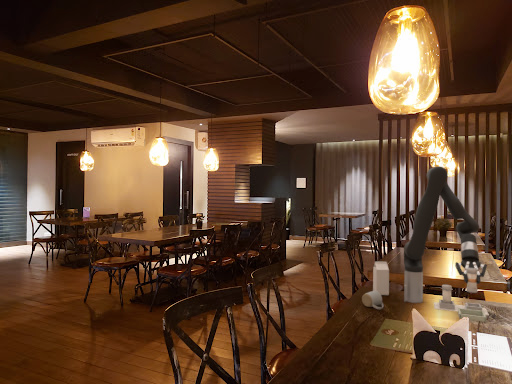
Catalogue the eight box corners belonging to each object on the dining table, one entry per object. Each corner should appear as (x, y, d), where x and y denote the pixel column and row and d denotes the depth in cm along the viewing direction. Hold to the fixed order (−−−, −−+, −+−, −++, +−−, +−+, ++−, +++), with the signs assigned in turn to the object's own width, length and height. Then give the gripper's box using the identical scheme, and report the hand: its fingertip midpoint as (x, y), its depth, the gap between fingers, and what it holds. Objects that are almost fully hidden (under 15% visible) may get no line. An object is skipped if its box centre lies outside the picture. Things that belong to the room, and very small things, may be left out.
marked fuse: (467, 292, 178) (467, 268, 178) (466, 289, 182) (466, 267, 182) (477, 293, 176) (477, 269, 176) (476, 290, 180) (476, 267, 180)
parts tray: (459, 320, 177) (459, 314, 177) (457, 314, 186) (457, 308, 186) (486, 324, 173) (486, 317, 173) (483, 317, 182) (483, 310, 181)
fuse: (442, 307, 193) (442, 286, 193) (441, 305, 197) (441, 284, 197) (451, 308, 192) (452, 287, 191) (451, 306, 196) (451, 285, 195)
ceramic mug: (360, 305, 200) (360, 291, 200) (371, 302, 204) (371, 288, 204) (376, 311, 191) (376, 296, 191) (387, 308, 195) (387, 293, 195)
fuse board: (434, 310, 191) (434, 303, 191) (433, 303, 202) (433, 297, 202) (489, 317, 182) (489, 310, 182) (485, 309, 193) (485, 303, 193)
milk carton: (388, 295, 218) (389, 262, 218) (376, 295, 218) (376, 262, 218) (385, 291, 225) (385, 260, 225) (373, 291, 226) (373, 260, 225)
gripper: (454, 247, 189) (455, 277, 178) (486, 249, 183) (491, 279, 172) (453, 256, 194) (455, 285, 183) (485, 258, 188) (489, 288, 177)
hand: (472, 282), depth 177 cm, fingers closed on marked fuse, 4 cm apart
